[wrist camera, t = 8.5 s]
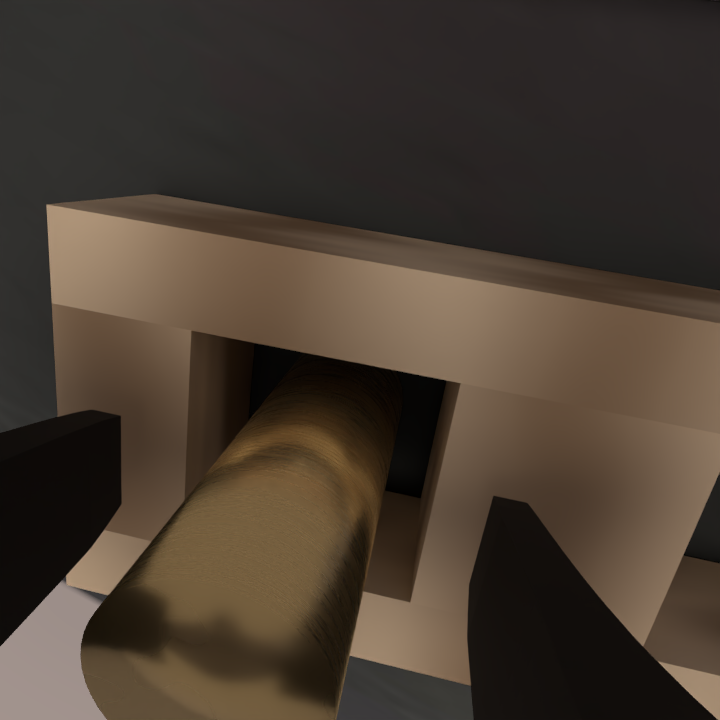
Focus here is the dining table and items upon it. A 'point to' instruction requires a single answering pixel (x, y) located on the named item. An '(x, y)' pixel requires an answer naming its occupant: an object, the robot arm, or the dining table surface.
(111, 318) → the rack
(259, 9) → the dining table surface
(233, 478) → the tan brown peg
